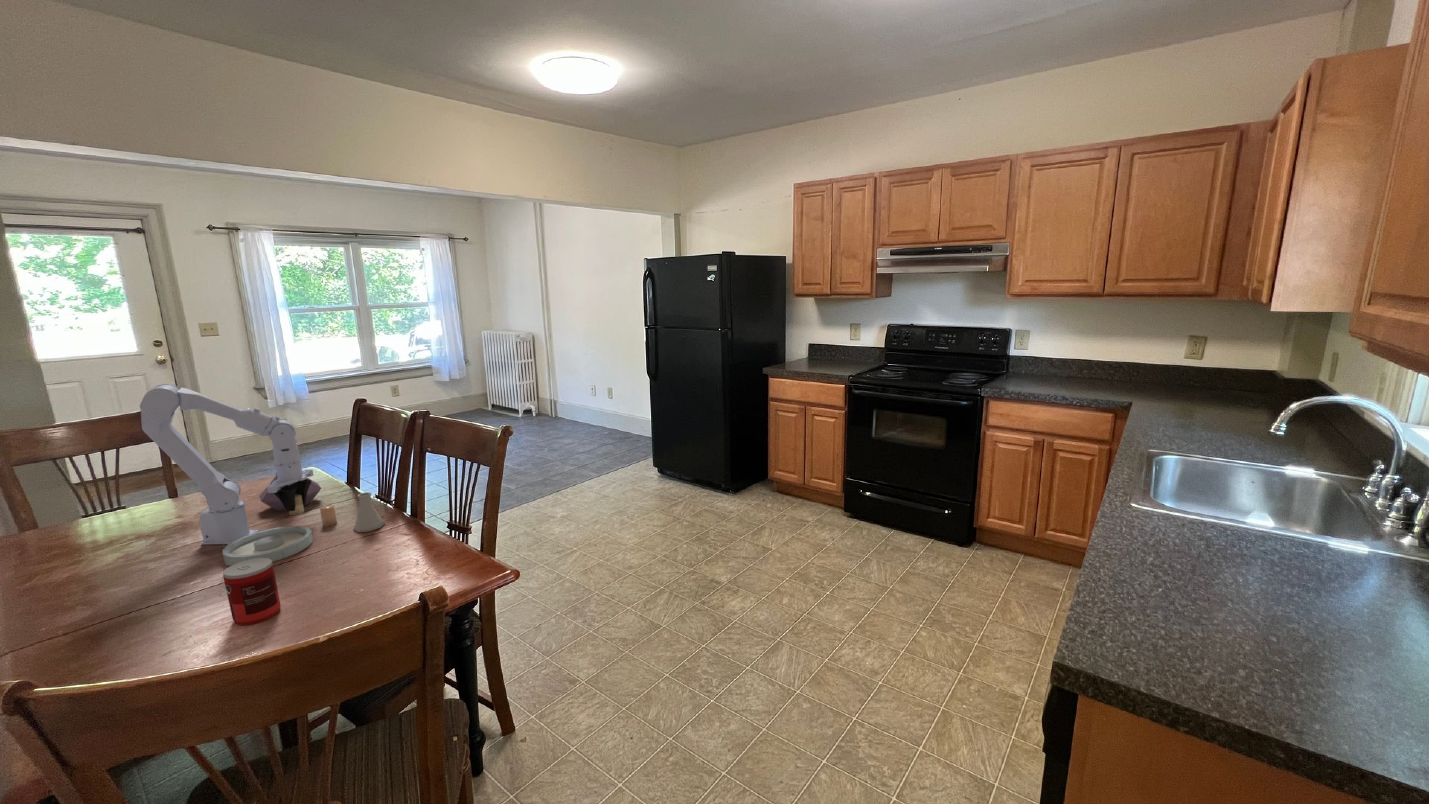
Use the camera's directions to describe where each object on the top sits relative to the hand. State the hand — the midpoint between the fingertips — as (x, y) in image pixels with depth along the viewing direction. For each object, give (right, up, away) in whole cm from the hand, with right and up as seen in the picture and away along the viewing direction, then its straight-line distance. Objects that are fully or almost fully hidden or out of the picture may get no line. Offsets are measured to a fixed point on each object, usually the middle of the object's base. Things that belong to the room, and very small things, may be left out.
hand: (296, 508), depth 160 cm
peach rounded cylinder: (+9, -5, +1) cm, 10 cm away
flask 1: (-13, -2, +16) cm, 21 cm away
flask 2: (+23, -5, -2) cm, 23 cm away
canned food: (+26, -14, -45) cm, 53 cm away
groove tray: (+4, -8, -15) cm, 17 cm away
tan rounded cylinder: (0, -1, 0) cm, 2 cm away
